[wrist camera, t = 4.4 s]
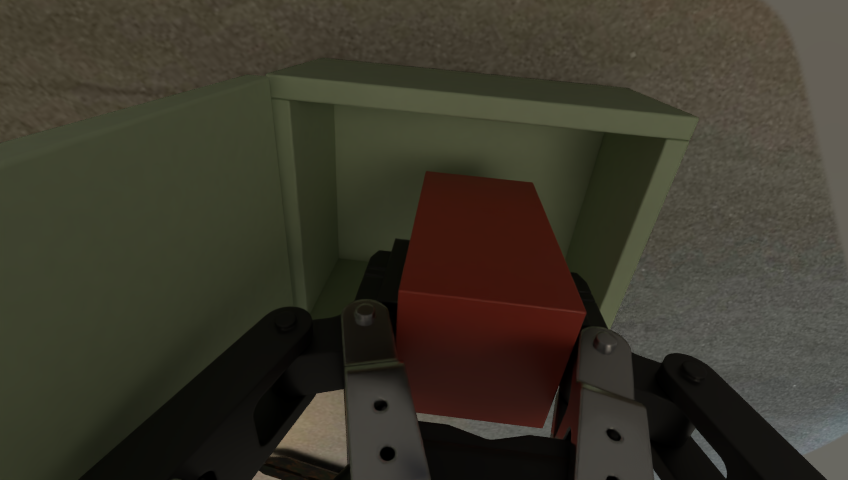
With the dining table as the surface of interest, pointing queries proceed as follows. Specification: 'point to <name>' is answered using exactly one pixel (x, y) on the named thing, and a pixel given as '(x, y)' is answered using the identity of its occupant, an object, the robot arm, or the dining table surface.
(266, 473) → the knife
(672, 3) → the dining table surface
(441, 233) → the block
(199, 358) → the lid
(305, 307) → the chest
